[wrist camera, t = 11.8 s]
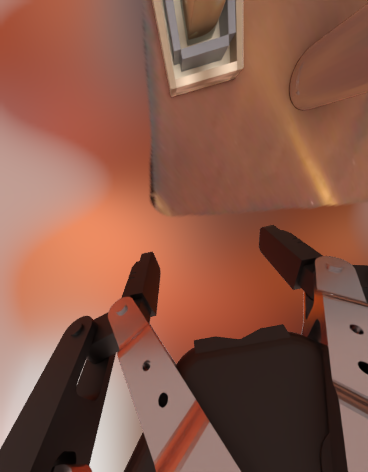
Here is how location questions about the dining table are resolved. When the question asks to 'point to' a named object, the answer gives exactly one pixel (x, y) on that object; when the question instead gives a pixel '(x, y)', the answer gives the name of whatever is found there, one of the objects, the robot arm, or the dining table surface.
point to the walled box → (205, 73)
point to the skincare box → (200, 18)
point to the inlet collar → (205, 50)
